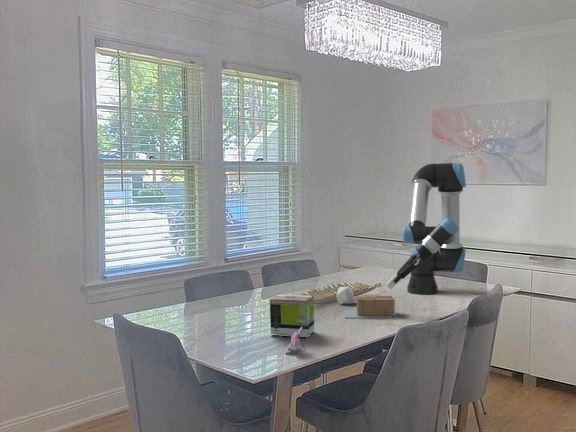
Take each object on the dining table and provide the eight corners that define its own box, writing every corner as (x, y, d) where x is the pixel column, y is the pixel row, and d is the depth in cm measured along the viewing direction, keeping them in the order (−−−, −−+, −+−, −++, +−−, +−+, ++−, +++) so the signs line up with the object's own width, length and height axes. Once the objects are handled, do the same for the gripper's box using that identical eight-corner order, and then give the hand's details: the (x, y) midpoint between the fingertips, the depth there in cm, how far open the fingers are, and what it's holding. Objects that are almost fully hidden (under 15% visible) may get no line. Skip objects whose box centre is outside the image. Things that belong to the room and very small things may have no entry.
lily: (297, 346, 219) (284, 327, 217) (320, 339, 213) (308, 319, 212) (285, 364, 210) (272, 344, 208) (309, 357, 204) (296, 336, 202)
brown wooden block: (393, 311, 261) (356, 311, 262) (393, 295, 261) (356, 296, 262) (395, 315, 254) (357, 315, 255) (395, 299, 254) (357, 299, 255)
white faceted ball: (348, 308, 274) (358, 290, 276) (332, 298, 275) (342, 280, 278) (347, 310, 282) (356, 292, 284) (331, 301, 283) (341, 283, 286)
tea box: (314, 332, 234) (314, 294, 233) (307, 339, 225) (306, 300, 223) (278, 329, 239) (278, 293, 238) (270, 336, 230) (269, 298, 228)
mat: (343, 311, 265) (343, 310, 265) (389, 311, 264) (389, 310, 264) (344, 318, 253) (344, 317, 253) (392, 318, 252) (392, 317, 252)
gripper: (436, 256, 248) (396, 296, 251) (431, 252, 261) (392, 289, 264) (423, 244, 248) (383, 284, 251) (418, 240, 261) (380, 278, 264)
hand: (388, 287), depth 257 cm, fingers closed
